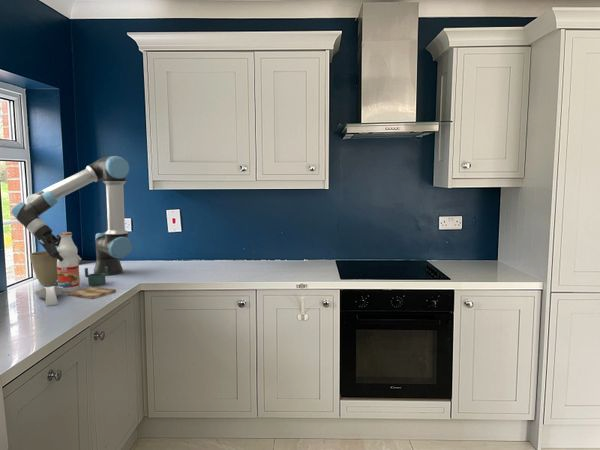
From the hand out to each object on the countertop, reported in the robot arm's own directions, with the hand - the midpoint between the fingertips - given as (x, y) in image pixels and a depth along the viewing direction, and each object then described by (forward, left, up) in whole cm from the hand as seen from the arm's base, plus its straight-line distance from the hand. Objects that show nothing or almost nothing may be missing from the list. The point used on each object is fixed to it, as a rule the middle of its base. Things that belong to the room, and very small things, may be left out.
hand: (74, 263), depth 229 cm
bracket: (-13, 0, -14) cm, 19 cm away
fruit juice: (+1, -3, -14) cm, 14 cm away
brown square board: (+2, +13, -13) cm, 18 cm away
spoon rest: (+16, +3, -14) cm, 22 cm away
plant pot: (-5, -25, -14) cm, 29 cm away
